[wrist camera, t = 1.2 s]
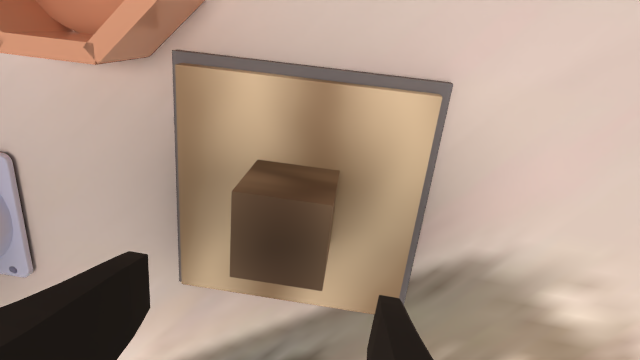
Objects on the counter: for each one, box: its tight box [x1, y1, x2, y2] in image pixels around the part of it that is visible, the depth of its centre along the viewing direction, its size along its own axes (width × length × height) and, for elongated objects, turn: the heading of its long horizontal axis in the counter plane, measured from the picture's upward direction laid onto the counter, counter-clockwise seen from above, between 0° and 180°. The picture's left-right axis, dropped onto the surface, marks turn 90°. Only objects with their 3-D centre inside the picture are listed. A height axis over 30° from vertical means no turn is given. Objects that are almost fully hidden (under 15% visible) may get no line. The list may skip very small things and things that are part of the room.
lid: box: [175, 63, 442, 314], centre depth 18 cm, size 12×12×5 cm
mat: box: [172, 50, 453, 305], centre depth 21 cm, size 13×13×1 cm
